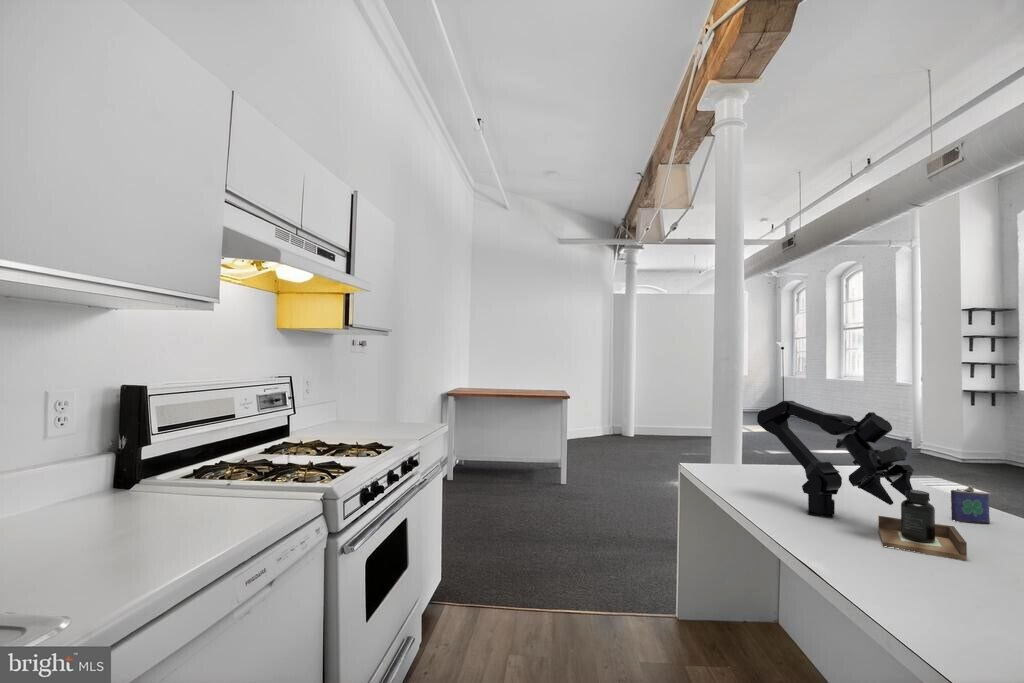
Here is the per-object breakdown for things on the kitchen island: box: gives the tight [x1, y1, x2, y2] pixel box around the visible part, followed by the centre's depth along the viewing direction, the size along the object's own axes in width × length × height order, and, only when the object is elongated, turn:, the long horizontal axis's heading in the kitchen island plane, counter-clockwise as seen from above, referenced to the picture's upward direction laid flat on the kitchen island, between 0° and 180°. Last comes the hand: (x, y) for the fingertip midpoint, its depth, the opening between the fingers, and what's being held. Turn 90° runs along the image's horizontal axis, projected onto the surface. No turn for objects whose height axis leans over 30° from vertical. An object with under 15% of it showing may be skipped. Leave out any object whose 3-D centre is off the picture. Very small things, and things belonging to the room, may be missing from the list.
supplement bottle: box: [900, 489, 936, 543], centre depth 132 cm, size 7×7×12 cm
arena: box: [878, 515, 968, 561], centre depth 132 cm, size 16×15×4 cm
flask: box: [950, 485, 991, 525], centre depth 153 cm, size 9×3×11 cm, turn 74°
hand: (903, 502), depth 135 cm, fingers open, 9 cm apart
